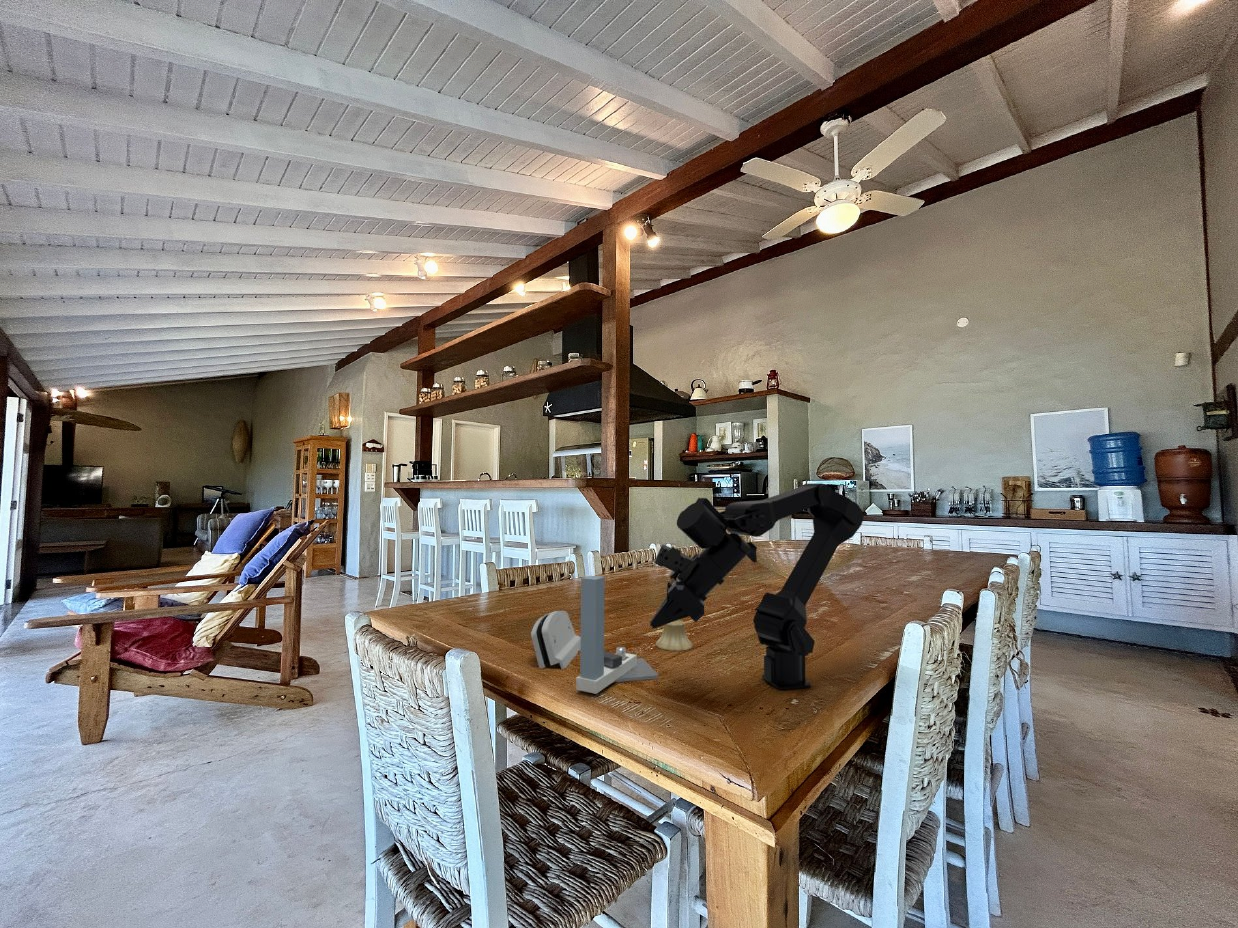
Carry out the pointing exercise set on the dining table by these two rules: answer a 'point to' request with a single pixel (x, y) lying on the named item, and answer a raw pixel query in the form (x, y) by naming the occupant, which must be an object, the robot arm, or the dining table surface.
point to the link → (596, 640)
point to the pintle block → (636, 673)
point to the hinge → (555, 639)
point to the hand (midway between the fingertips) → (651, 625)
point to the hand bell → (674, 636)
